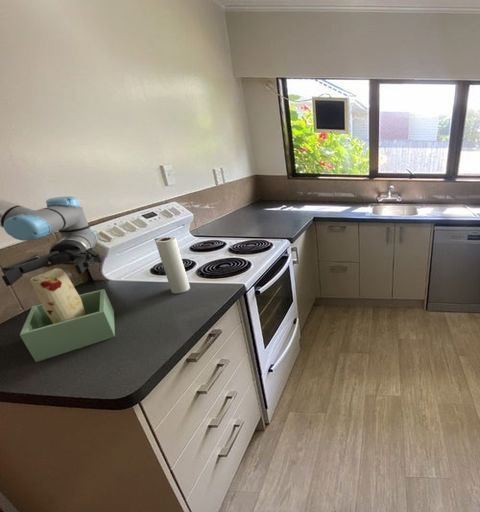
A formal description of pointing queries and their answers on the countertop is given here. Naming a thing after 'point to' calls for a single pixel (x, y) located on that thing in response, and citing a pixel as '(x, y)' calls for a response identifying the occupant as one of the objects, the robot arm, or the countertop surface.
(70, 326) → the storage bin
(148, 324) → the countertop surface
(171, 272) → the paper towel roll
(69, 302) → the food model
